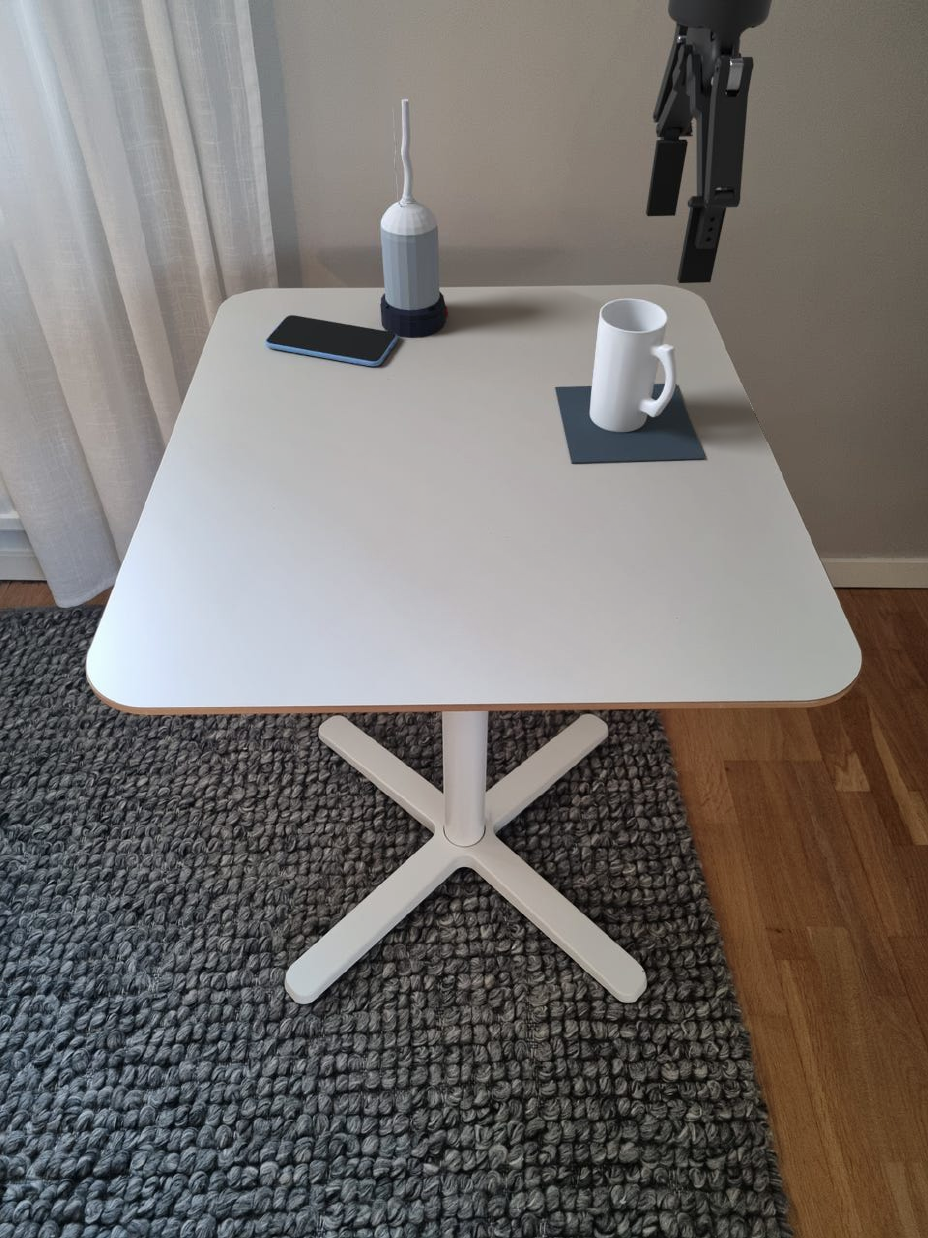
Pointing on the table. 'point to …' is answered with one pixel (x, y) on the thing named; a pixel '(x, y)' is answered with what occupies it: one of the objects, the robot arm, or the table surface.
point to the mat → (650, 442)
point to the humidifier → (410, 259)
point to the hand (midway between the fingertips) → (676, 246)
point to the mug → (630, 365)
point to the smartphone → (332, 340)
